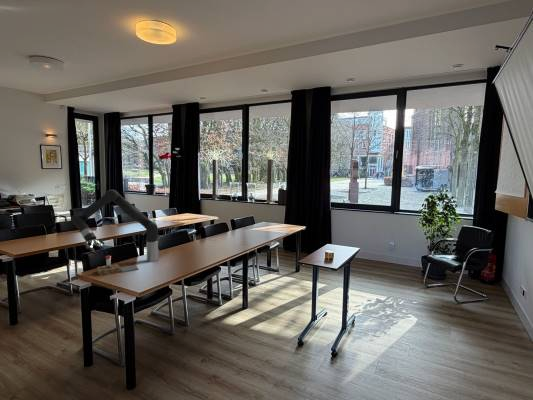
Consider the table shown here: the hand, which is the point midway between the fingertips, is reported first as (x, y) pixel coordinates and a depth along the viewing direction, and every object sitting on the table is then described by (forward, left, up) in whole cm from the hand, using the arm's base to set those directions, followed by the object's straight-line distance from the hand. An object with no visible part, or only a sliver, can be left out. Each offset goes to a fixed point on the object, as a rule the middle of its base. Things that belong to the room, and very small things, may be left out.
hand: (99, 251), depth 242 cm
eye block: (-5, +9, -15) cm, 18 cm away
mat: (-19, +10, -15) cm, 26 cm away
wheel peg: (-5, +9, -15) cm, 18 cm away
